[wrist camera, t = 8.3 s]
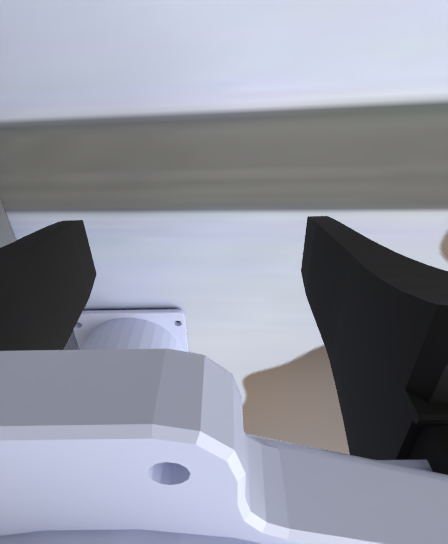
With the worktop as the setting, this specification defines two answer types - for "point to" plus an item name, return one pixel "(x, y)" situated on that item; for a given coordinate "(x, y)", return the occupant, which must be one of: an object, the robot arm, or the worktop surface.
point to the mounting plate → (5, 228)
